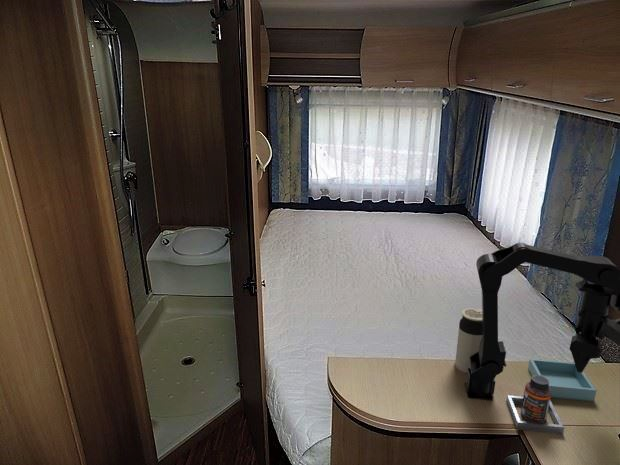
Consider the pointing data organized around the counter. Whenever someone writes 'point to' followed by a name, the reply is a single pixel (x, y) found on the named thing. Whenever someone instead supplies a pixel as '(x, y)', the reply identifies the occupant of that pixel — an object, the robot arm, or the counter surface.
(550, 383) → the bin
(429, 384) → the counter surface
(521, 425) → the collar
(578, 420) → the counter surface
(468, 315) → the travel mug
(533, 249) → the robot arm
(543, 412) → the supplement bottle
